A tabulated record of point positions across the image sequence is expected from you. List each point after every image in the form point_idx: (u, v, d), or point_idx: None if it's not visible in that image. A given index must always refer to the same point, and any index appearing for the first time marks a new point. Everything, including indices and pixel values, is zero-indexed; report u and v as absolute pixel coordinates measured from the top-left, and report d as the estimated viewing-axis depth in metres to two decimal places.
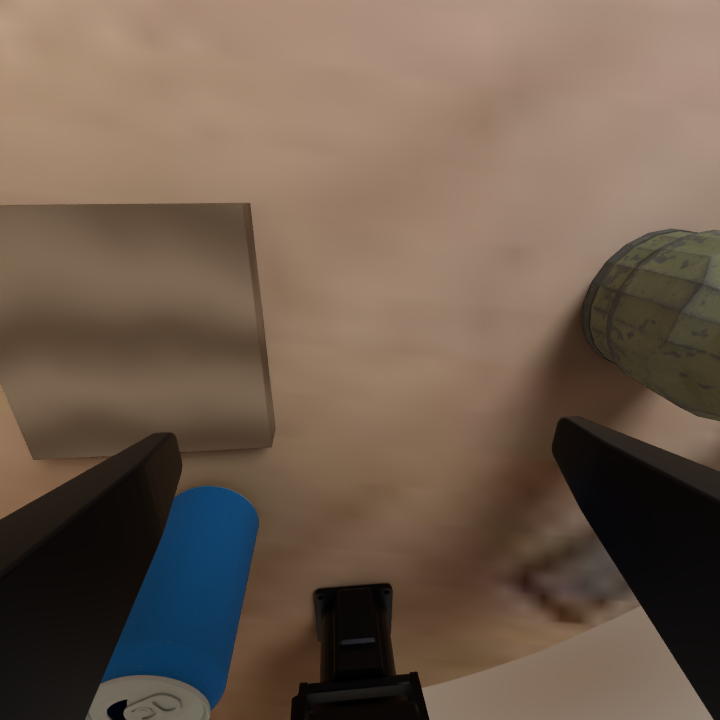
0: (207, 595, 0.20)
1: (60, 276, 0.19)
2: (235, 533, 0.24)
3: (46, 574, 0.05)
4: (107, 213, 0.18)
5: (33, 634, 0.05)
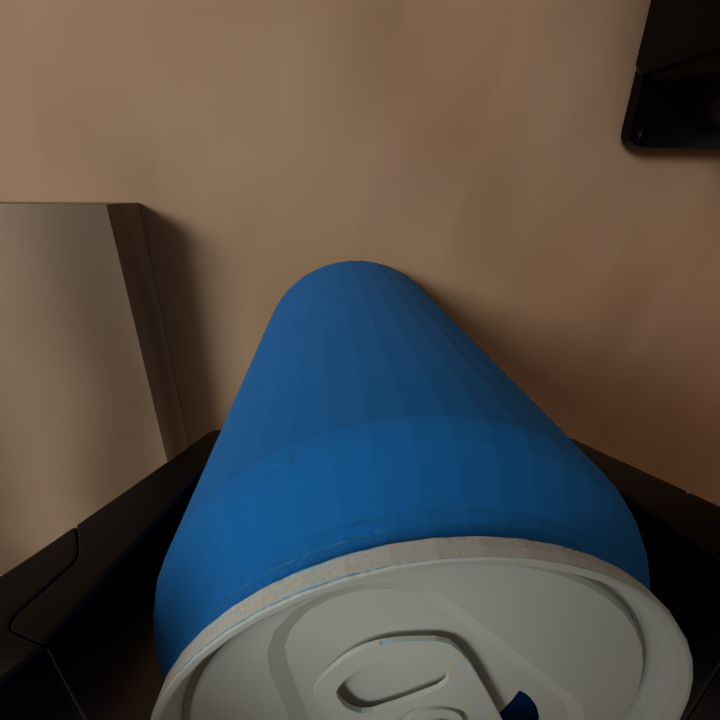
0: (240, 401, 0.06)
1: None
2: (288, 306, 0.10)
3: (144, 568, 0.05)
4: None
5: (135, 626, 0.05)
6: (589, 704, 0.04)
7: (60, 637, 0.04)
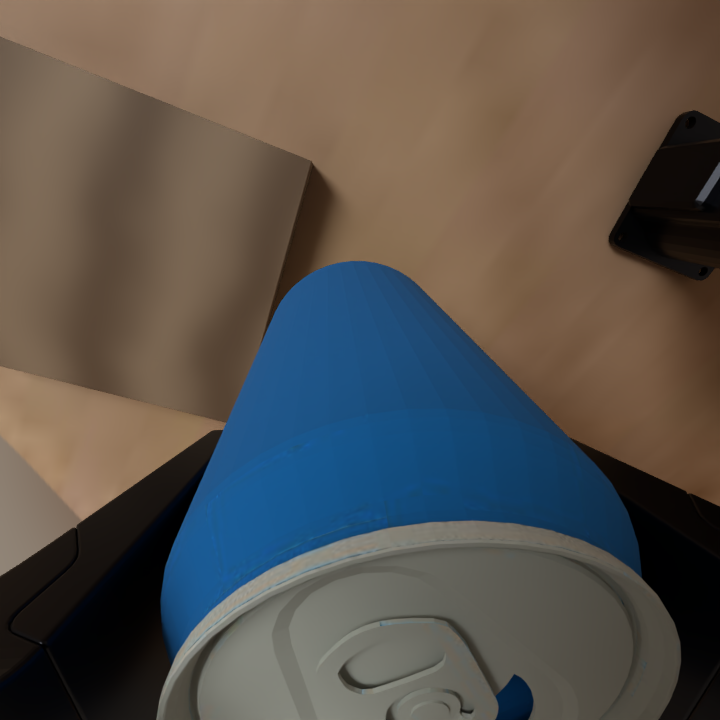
0: (244, 397, 0.07)
1: (26, 281, 0.18)
2: (290, 305, 0.10)
3: (144, 568, 0.05)
4: None
5: (135, 626, 0.05)
6: (581, 688, 0.05)
7: (59, 637, 0.04)
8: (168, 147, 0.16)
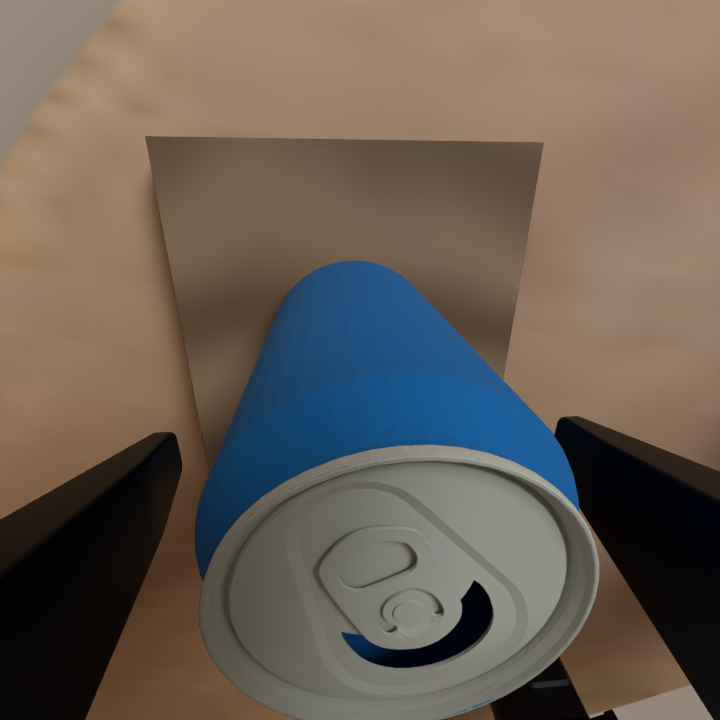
0: (256, 375, 0.08)
1: (294, 235, 0.15)
2: (293, 301, 0.12)
3: (46, 574, 0.05)
4: (373, 151, 0.14)
5: (33, 634, 0.05)
6: (528, 592, 0.06)
7: None
8: None
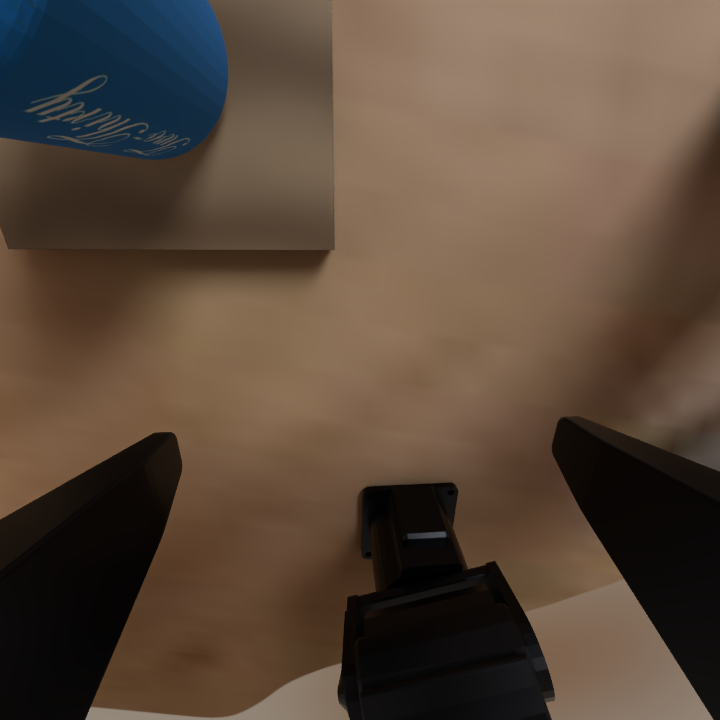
0: None
1: None
2: None
3: (46, 574, 0.05)
4: None
5: (33, 634, 0.05)
6: None
7: None
8: (293, 102, 0.15)
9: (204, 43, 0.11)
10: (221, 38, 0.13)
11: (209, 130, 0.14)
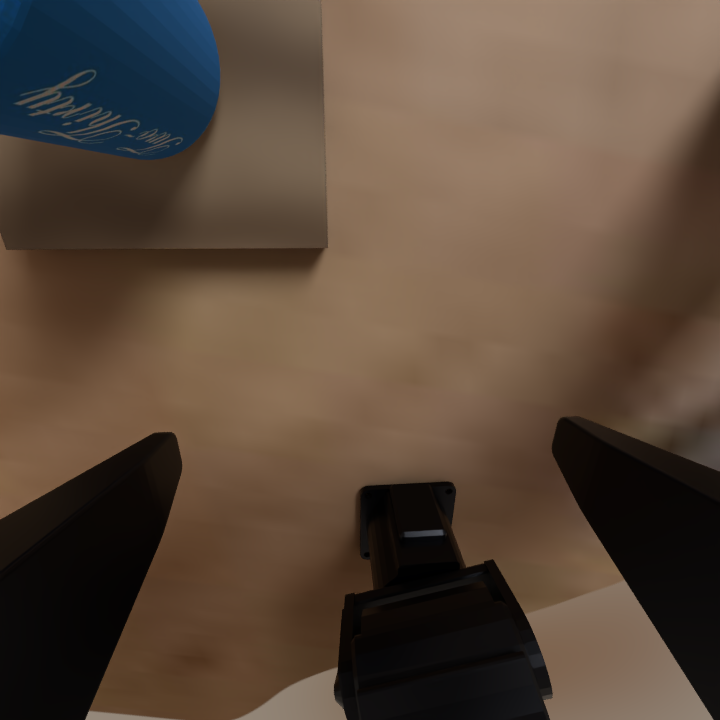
0: None
1: None
2: None
3: (46, 574, 0.05)
4: None
5: (33, 634, 0.05)
6: None
7: None
8: (285, 102, 0.15)
9: (195, 43, 0.11)
10: (213, 40, 0.14)
11: (202, 130, 0.15)
